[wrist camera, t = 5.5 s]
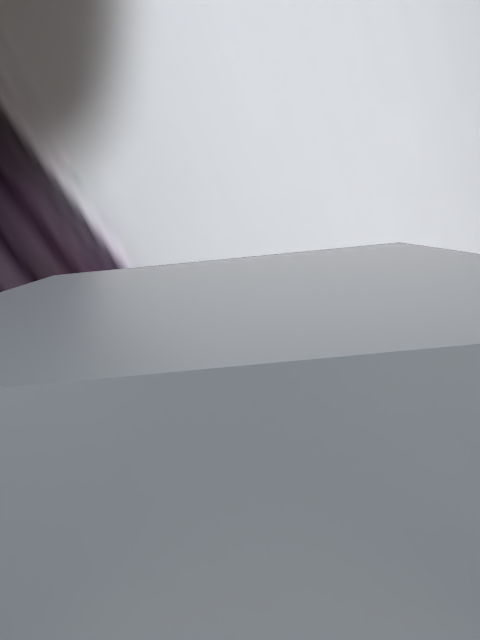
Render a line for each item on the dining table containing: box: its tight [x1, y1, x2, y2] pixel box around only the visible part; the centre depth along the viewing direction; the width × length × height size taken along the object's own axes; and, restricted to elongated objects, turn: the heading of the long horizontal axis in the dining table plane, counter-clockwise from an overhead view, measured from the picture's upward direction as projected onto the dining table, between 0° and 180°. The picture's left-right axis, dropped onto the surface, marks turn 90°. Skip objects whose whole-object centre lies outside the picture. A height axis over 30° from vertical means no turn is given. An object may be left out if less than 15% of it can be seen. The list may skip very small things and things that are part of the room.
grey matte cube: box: [0, 242, 480, 640], centre depth 9 cm, size 10×10×9 cm
